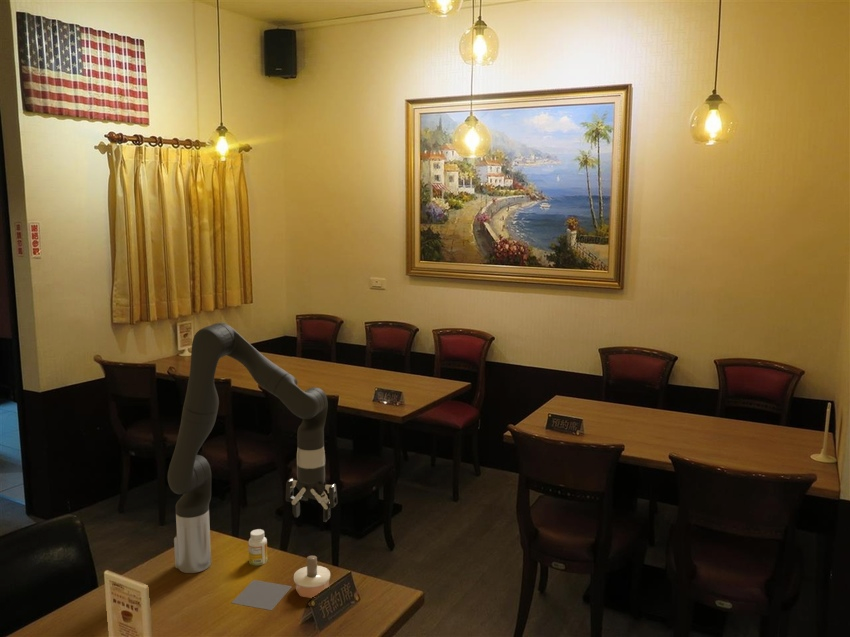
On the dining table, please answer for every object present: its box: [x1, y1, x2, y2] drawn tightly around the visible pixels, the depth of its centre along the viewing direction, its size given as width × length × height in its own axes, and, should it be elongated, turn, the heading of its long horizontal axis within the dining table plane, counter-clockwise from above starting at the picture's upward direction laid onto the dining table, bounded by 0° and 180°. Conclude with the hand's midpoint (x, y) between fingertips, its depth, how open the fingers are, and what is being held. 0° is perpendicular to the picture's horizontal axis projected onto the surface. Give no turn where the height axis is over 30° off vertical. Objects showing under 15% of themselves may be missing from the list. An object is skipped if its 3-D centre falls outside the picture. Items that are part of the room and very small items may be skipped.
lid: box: [293, 555, 331, 587], centre depth 192 cm, size 10×10×6 cm
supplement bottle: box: [247, 528, 268, 566], centre depth 207 cm, size 5×5×10 cm
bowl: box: [295, 580, 330, 599], centre depth 193 cm, size 8×8×4 cm
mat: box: [231, 579, 293, 611], centre depth 190 cm, size 12×12×1 cm
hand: (311, 518), depth 189 cm, fingers open, 8 cm apart
